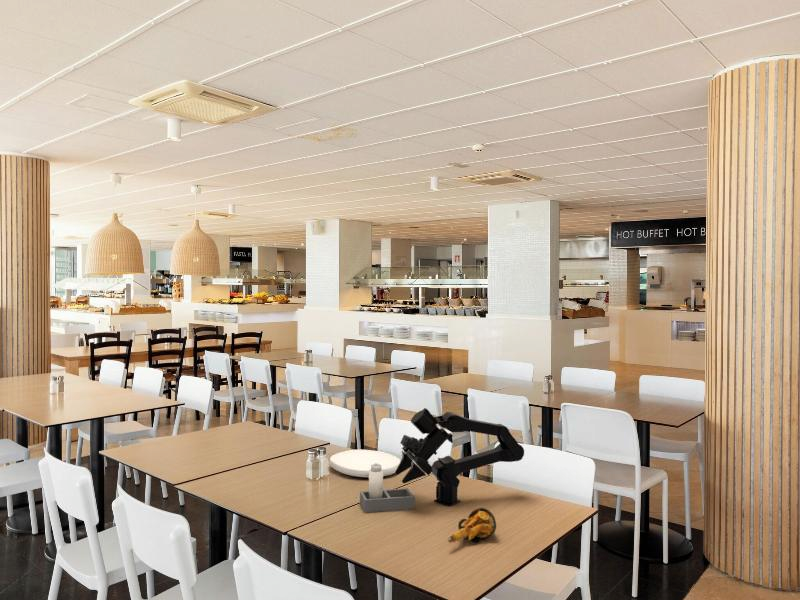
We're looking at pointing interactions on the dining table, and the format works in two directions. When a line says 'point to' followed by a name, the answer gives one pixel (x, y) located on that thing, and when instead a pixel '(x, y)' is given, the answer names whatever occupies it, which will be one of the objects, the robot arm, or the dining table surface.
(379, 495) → the salt mill
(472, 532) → the fried shrimp in bowl
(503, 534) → the dining table surface
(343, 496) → the dining table surface
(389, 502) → the condiment caddy
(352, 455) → the plate
